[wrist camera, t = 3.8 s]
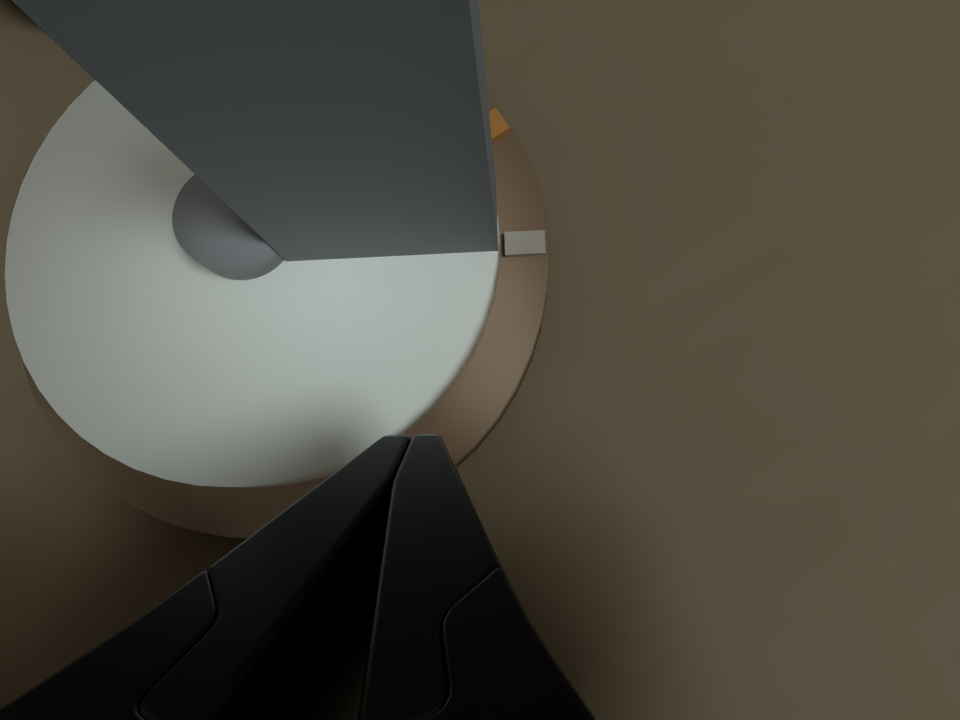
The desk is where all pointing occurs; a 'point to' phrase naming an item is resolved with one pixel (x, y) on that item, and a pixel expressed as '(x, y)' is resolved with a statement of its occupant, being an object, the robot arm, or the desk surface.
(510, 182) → the dial base
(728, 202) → the desk surface
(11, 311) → the dial
